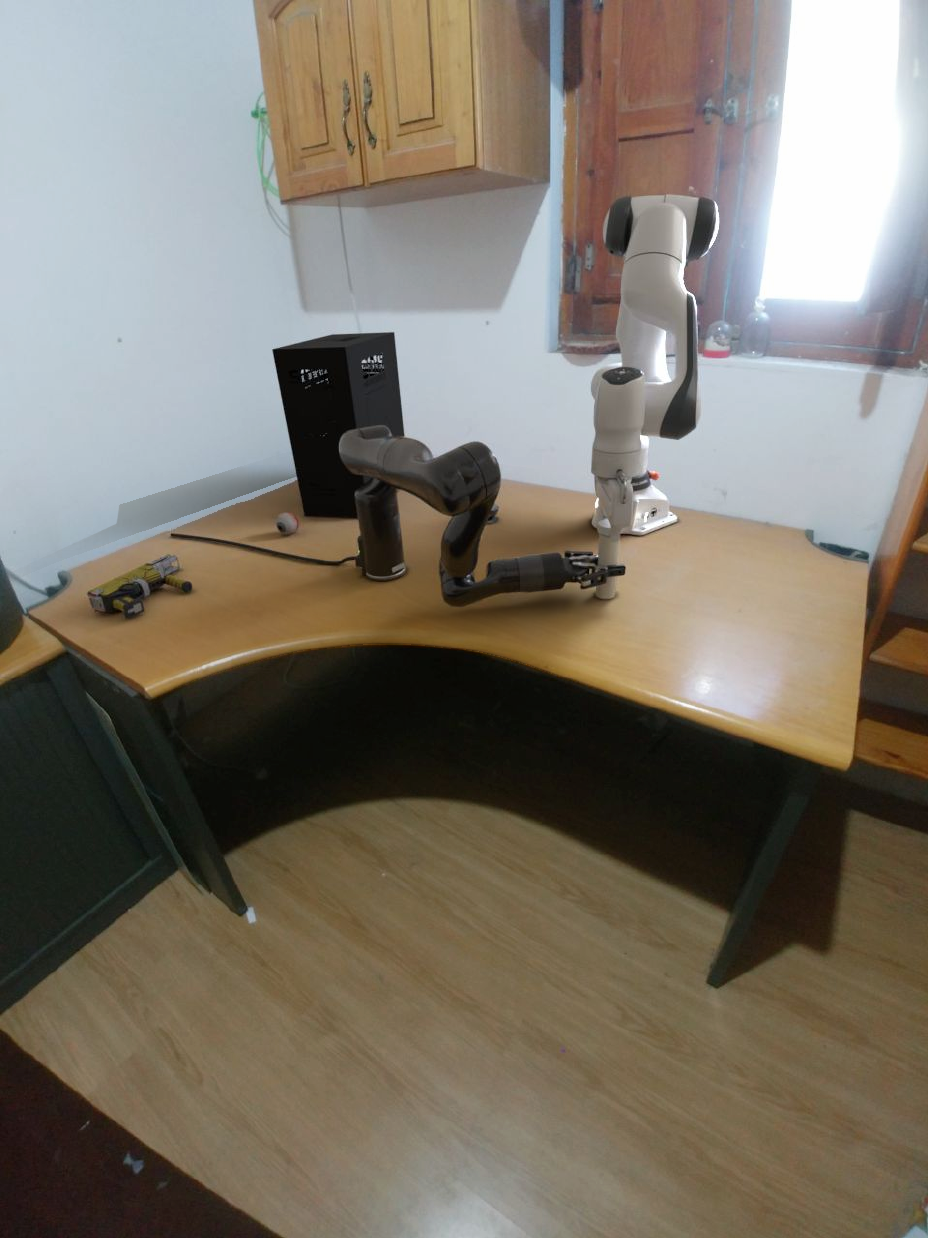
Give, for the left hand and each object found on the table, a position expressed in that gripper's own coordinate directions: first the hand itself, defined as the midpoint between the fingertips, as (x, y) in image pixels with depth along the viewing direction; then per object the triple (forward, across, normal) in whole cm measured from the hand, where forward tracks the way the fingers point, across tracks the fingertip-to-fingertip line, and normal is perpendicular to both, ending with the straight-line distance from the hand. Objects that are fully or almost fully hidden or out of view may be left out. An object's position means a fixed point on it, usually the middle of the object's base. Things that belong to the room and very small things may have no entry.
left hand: (620, 564), depth 123 cm
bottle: (-3, 0, +7) cm, 7 cm away
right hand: (-3, 0, -7) cm, 8 cm away
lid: (-3, 0, -9) cm, 9 cm away
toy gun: (-100, +22, +7) cm, 103 cm away
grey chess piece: (-20, +49, +7) cm, 53 cm away
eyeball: (-75, +52, +7) cm, 91 cm away
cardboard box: (-56, +80, +7) cm, 98 cm away
